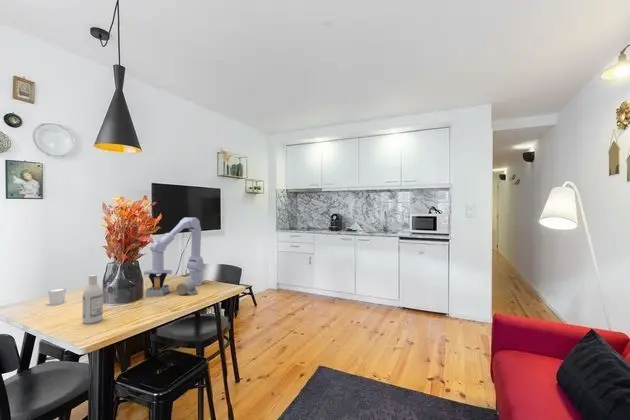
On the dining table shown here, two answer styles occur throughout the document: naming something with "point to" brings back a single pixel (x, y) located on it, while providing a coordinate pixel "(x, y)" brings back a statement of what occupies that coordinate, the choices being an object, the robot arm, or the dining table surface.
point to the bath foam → (92, 301)
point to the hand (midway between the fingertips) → (157, 286)
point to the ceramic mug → (186, 287)
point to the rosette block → (157, 291)
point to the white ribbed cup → (57, 296)
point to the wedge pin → (157, 282)
